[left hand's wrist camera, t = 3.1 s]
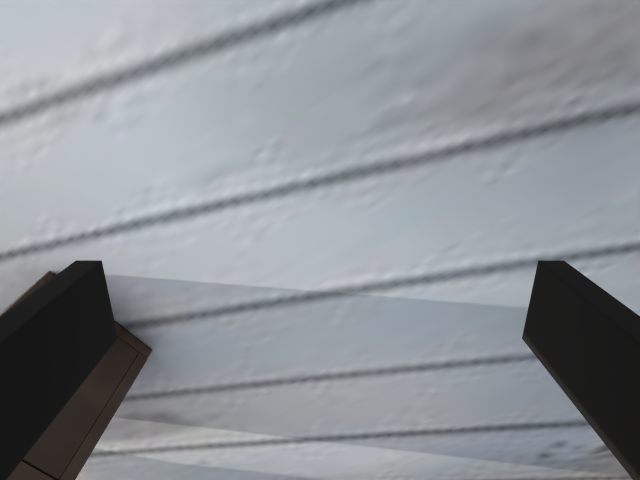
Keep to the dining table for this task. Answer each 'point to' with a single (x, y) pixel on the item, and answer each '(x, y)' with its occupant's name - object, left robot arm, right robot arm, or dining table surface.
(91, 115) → the dining table surface
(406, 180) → the dining table surface
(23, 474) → the lid
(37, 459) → the chest
